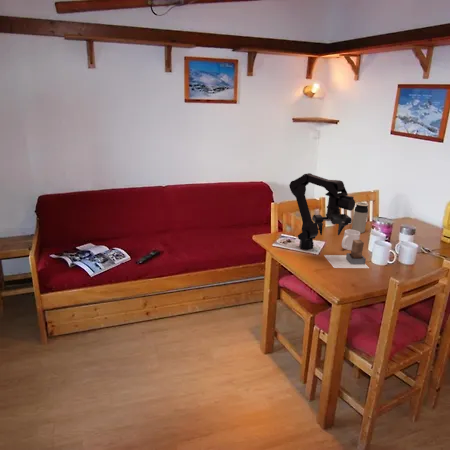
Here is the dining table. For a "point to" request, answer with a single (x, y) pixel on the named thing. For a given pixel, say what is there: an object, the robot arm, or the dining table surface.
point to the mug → (350, 238)
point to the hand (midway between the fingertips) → (329, 235)
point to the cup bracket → (355, 259)
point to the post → (357, 249)
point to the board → (342, 262)
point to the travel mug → (360, 217)
